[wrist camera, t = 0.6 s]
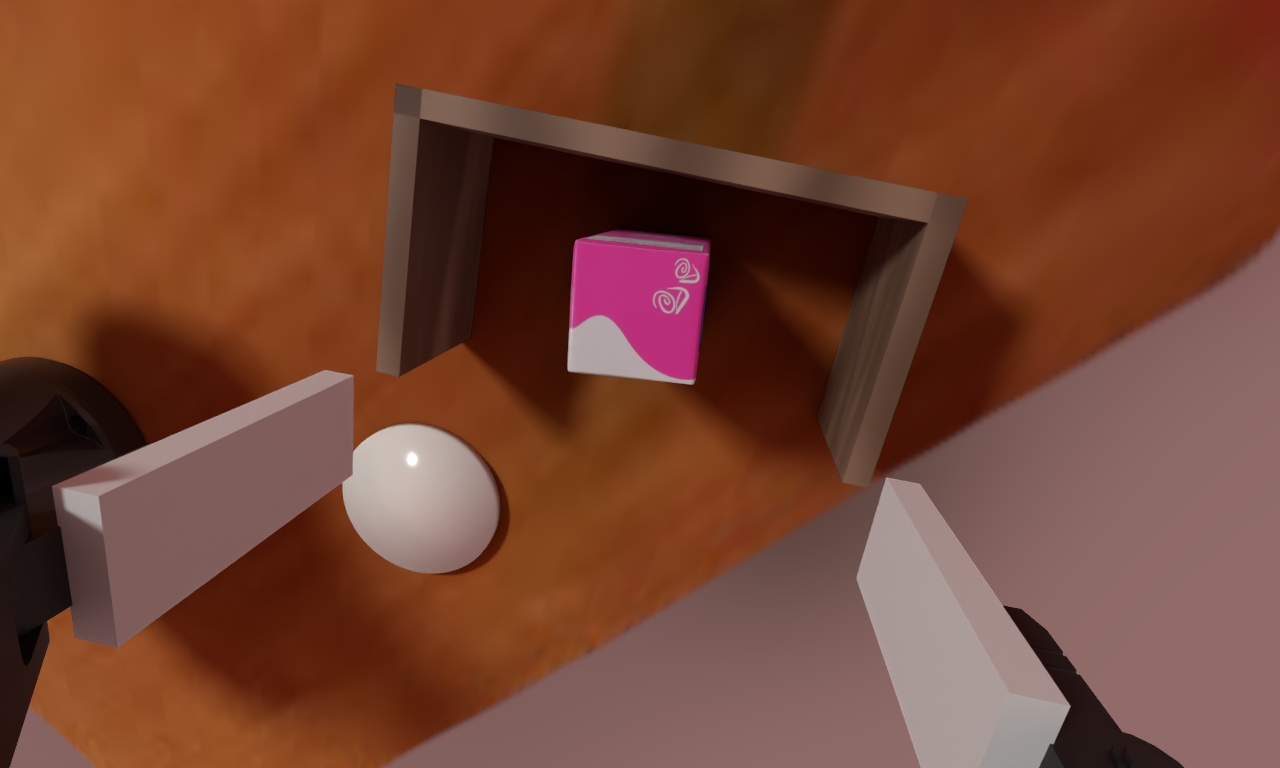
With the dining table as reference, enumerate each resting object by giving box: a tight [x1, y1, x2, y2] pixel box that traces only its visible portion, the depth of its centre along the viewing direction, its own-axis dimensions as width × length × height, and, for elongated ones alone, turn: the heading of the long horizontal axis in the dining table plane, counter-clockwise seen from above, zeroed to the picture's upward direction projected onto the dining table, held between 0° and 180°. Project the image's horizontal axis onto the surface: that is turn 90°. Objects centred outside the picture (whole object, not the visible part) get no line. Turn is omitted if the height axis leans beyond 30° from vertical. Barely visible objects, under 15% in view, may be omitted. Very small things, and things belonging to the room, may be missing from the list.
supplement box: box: [568, 229, 711, 385], centre depth 31 cm, size 6×6×12 cm
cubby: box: [376, 83, 968, 488], centre depth 32 cm, size 24×13×9 cm, turn 79°
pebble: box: [343, 423, 501, 574], centre depth 43 cm, size 11×11×1 cm
